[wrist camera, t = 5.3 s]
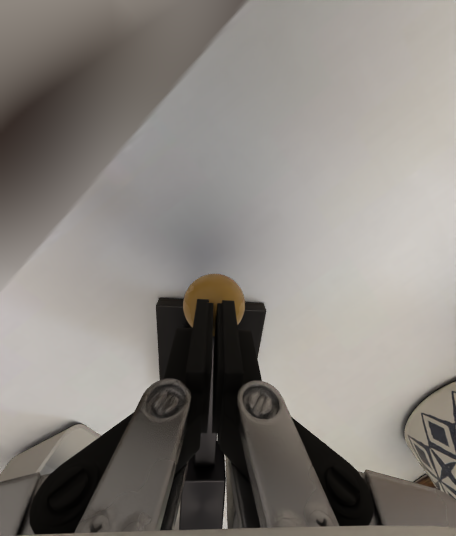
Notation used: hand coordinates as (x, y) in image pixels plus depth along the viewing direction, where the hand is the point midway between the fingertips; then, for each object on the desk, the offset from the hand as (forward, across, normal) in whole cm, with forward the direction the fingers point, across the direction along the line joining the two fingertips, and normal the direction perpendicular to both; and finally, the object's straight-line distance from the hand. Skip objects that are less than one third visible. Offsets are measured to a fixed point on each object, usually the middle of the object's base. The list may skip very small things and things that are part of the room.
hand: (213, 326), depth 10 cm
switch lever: (+1, 0, +5) cm, 5 cm away
